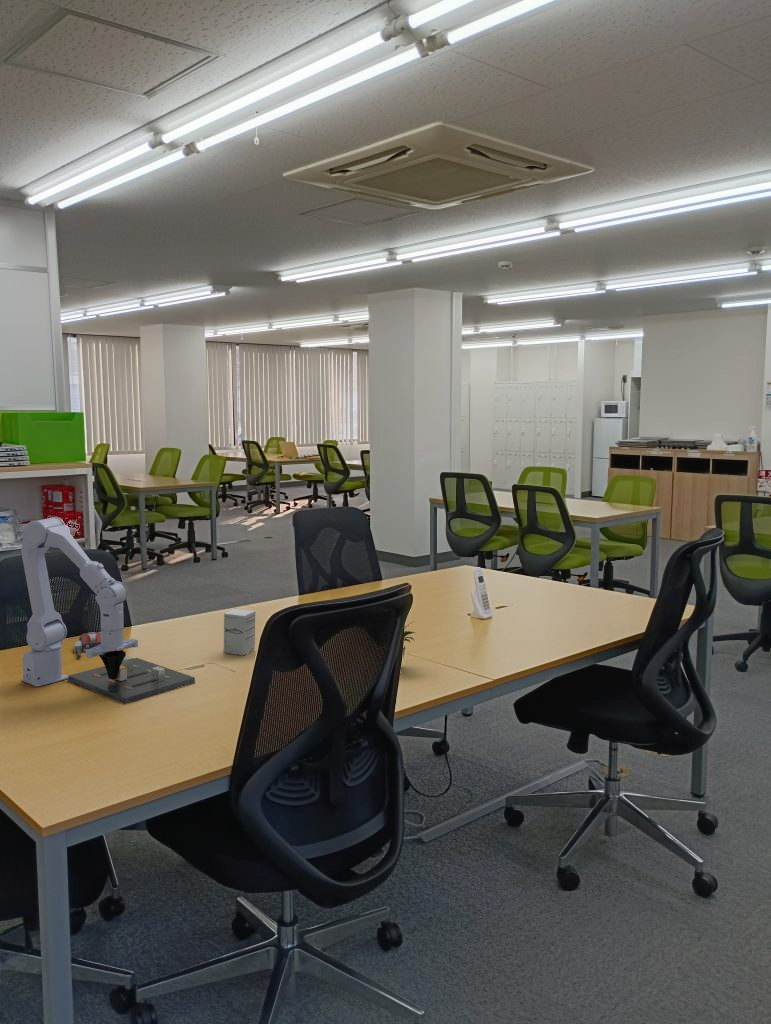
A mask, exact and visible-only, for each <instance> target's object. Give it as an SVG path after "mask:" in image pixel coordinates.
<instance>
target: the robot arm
mask: <svg viewBox="0 0 771 1024" xmlns="http://www.w3.org/2000/svg"><path fill="white" fill-rule="evenodd" d="M21 533H22V543H21V547H20V553H21V557H22V558H21V559H22V563H23V568H24V575H25V580H26V584H27V590H28V596H29V601H30V607H31V612H32V615H31V617H30V618H29V620H28V621H27V623H26V627H27V632H26V638H25V639H26V642H27V644H28V646H29V647H30V649H31V650H29V651H26V652H24V654H23V656H22V678H21V681H22V682H24V683H26V684H29V685H32V686H34V687H42V686H46V685H49V684H53V683H58V682H61V681H66V680H68V675H65V674H63V660H62V659H63V658H62V657H63V655H62V654H63V653H62V652H63V651H62V648H63V647H62V646H63V641H64V640H65V639H66V637H67V635H68V629H67V626H66V624H65V623H64V622H63V619H62V615H61V614H60V613H59V612H58V611H56V610H55V606H54V600H53V597H52V589H51V584H50V579H49V573H48V572H49V571H48V568H47V563H46V556H45V553H46V552H47V551H48V550H49V548H57V549H59V550H60V551H61V552H62V553H64V554H65V555H66V557H68V559H69V560H70V561H71V562H72V563H73V564H75V565H76V567H77V568H79V576H80V578H82V580H83V581H84V583H86V584H87V585H88V587H89V588H90V589H91V591H92V592H94V594H95V596H94V597H95V602H96V603H97V604H98V607H99V612H100V633H101V644H100V645H98V646H96V647H93V648H91V649H87V650H86V652H85V658H88V659H93V658H94V657H99V658H100V660H101V661H102V663H103V665H104V666H105V667H106V670H107V674H108V678H109V679H112V680H114V679H117V676H118V672H119V669H120V666H121V663H122V661H123V659H124V658H125V656H127V653H126V651H124V650H126V649H127V650H128V649H131V648H138V647H139V642H138V641H139V640H138V639H135V638H130V639H124V633H125V632H124V630H125V629H124V627H125V626H124V602H125V601H126V599H127V597H128V589H127V587H126V585H125V583H124V582H121V581H118V580H116V579H115V578H114V577H112V576H111V575H110V574H109V573H108V572H107V570H106V569H105V568H104V567H105V566H104V565H103V563H100V562H99V561H95V560H91V559H90V558H89V556H88V555H87V554H86V553H85V550H83V548H82V547H81V546H80V544H79V543H78V542H77V541H76V539H75V538H74V537H73V535H72V534H71V530H70V527H69V526H68V525H67V524H65V522H64V520H63V519H61V518H60V517H59V516H51V517H48V518H44V519H39V520H32V521H29V522H28V523H27V524H26V525H25V526H24V527H23V528H22V529H21Z"/></svg>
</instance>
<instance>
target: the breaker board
mask: <svg viewBox="0 0 771 1024" xmlns="http://www.w3.org/2000/svg"><path fill="white" fill-rule="evenodd" d="M121 666H124V667H127V679H126V680H122V681H119V680H117V679H114V680H112V679H109V678H108V674H107V670H106V667H105V665H104V666H101V667H96V668H92V669H87V670H85V671H80V672H78V673H77V672H76V673H72V674H69V675H67V676H68V679H67V681H68V682H70V683H73V684H75V685H77V686H81V687H83V688H85V689H88V690H91V691H93V692H95V693H98V694H101V695H102V696H105V697H107V698H110V699H113V700H115V701H118V702H121V703H122V704H125V705H126V704H129V703H133V702H137V701H140V700H142V699H145V698H149V697H153V696H155V695H156V696H157V695H159V694H163V693H166V692H169V691H172V689H173V690H176V689H178V687H179V688H182V687H181V686H183V687H186V686H189V685H192V684H195V683H196V682H195V681H196V680H195V679H196V678H195V677H194V676H192V675H189V674H185V673H182V672H179V671H177V670H173V669H171V668H167V667H166V666H165V667H164V666H162V665H159V664H158V663H157V664H156V663H153V662H150V661H148V660H144V659H142V658H139V657H136V658H135V657H132V656H129V655H126V656H125V658H124V659H123V661H122V663H121ZM194 682H195V683H194ZM191 683H192V684H191ZM188 684H189V685H188ZM185 685H186V686H185ZM175 688H176V689H175Z"/></svg>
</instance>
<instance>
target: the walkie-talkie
mask: <svg viewBox="0 0 771 1024" xmlns="http://www.w3.org/2000/svg"><path fill="white" fill-rule="evenodd" d="M100 644H101V632H95V631H93V632H91V631H90V632H87V633H86V632H85V633H82V634H80V637H79V638H78V640H77V641H75V642H74V647H73V649H74V650H73V651H74V653H76V656H77V658H81V657H82V654H81V653H86V650H87V649H91V648H93V647H96V646H98V645H100Z"/></svg>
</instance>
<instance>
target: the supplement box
mask: <svg viewBox="0 0 771 1024" xmlns="http://www.w3.org/2000/svg"><path fill="white" fill-rule="evenodd" d="M256 612H257V611H256V610H249V609H242V608H234V609H231V610H228V611H226V612H225V613H224V614H223V654H230V653H231V654H232V655H237V654H239V655H238V656H243V655H245V654H246V655H248V654H249V653H248V652H250V651H252V650H253V651H255V650H254V649H256V648H255V646H256V645H255V644H256ZM253 651H252V652H253ZM247 653H248V654H247ZM250 653H251V652H250ZM246 655H245V656H246Z"/></svg>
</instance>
